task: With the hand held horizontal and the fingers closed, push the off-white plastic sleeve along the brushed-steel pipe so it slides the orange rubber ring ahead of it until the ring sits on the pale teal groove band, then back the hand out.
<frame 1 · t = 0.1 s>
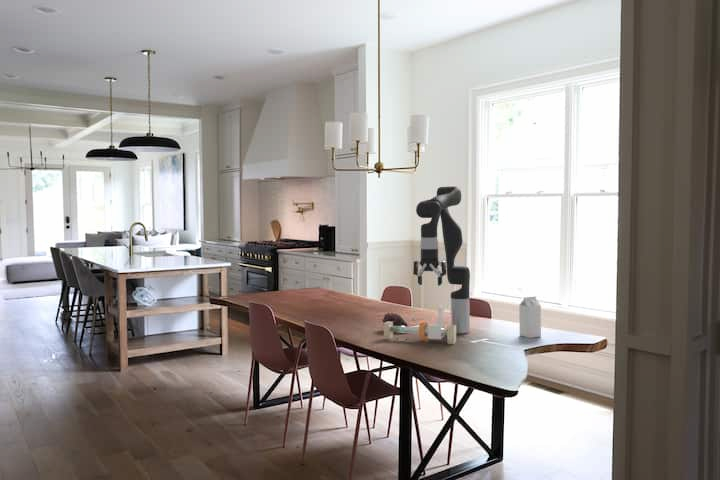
hand: (429, 285, 249), 29 cm above the table, fingers open, 8 cm apart
ring: (423, 330, 272), point 5 cm above the table, slide at 0.0 cm
pine cone: (394, 331, 296), on the table
pipe rail: (419, 340, 272), on the table
milk carton: (530, 336, 277), on the table
sleeve: (435, 321, 269), point 9 cm above the table, slide at 0.0 cm
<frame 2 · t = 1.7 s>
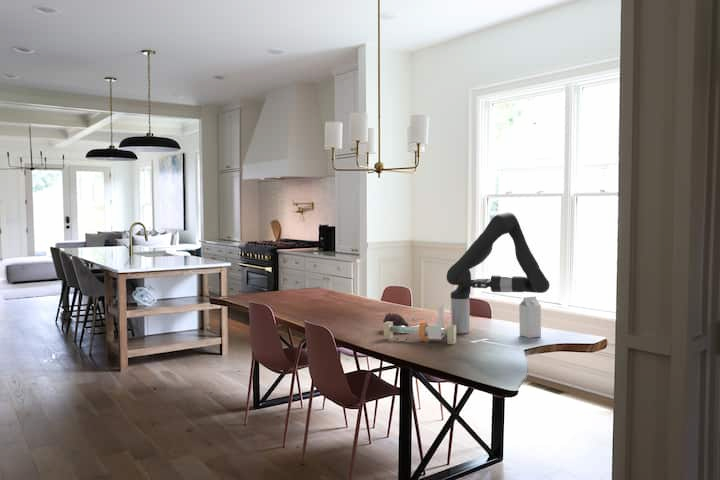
hand: (465, 283, 263), 28 cm above the table, fingers open, 6 cm apart
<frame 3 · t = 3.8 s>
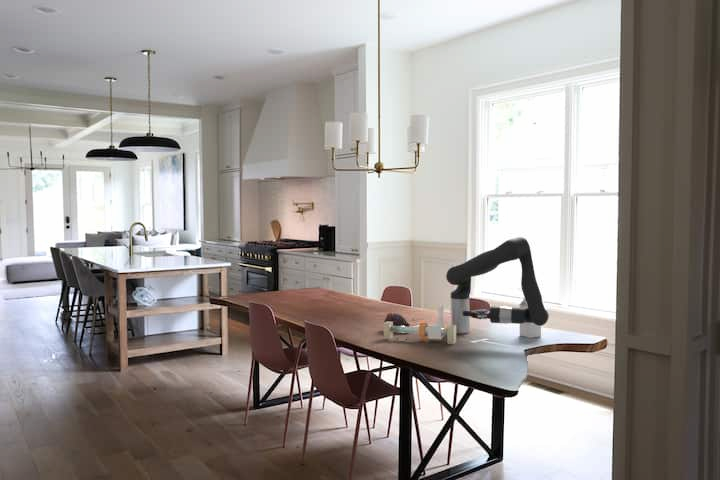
hand: (463, 313, 264), 14 cm above the table, fingers closed
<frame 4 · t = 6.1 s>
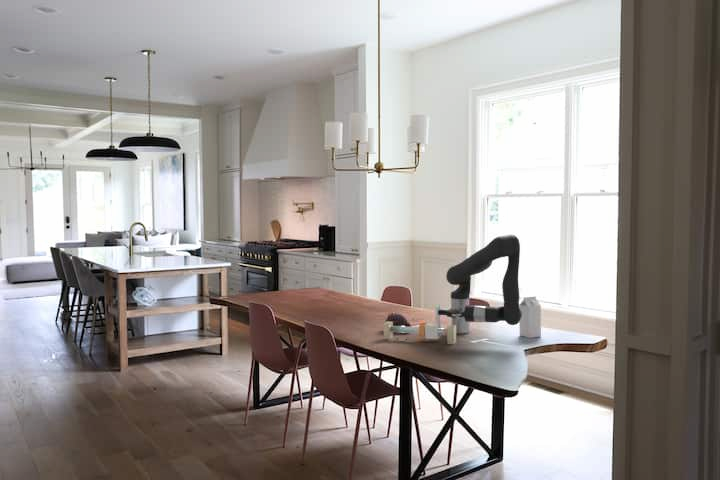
hand: (438, 312, 268), 14 cm above the table, fingers closed
sleeve: (432, 321, 270), point 10 cm above the table, slide at 1.6 cm, touching gripper
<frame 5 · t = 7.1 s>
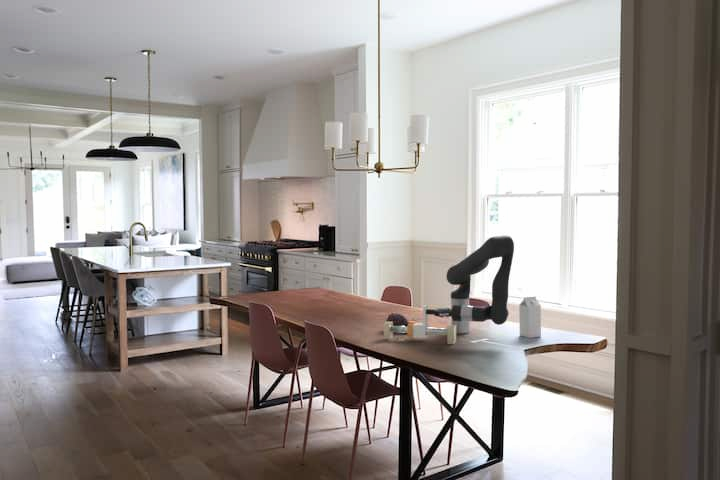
hand: (426, 311, 271), 14 cm above the table, fingers closed
ring: (412, 329, 274), point 5 cm above the table, slide at 5.6 cm, touching sleeve
sleeve: (420, 321, 272), point 10 cm above the table, slide at 7.4 cm, touching gripper, ring
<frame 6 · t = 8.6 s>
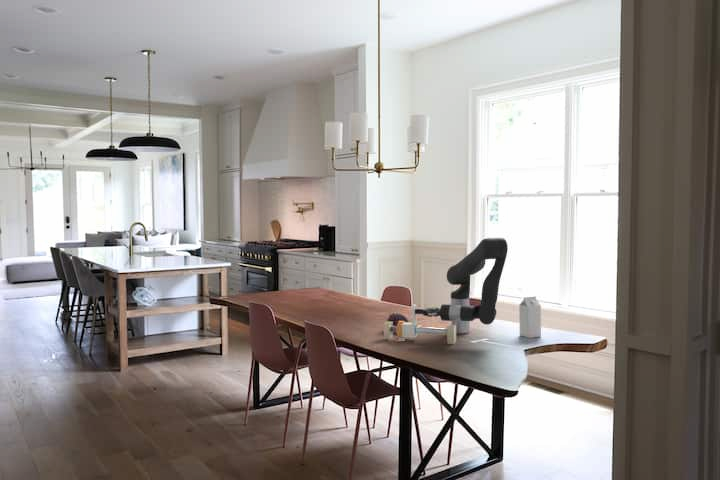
hand: (415, 311, 273), 14 cm above the table, fingers closed
ring: (401, 329, 276), point 5 cm above the table, slide at 11.0 cm, touching sleeve
sleeve: (409, 320, 274), point 9 cm above the table, slide at 12.8 cm, touching gripper, ring
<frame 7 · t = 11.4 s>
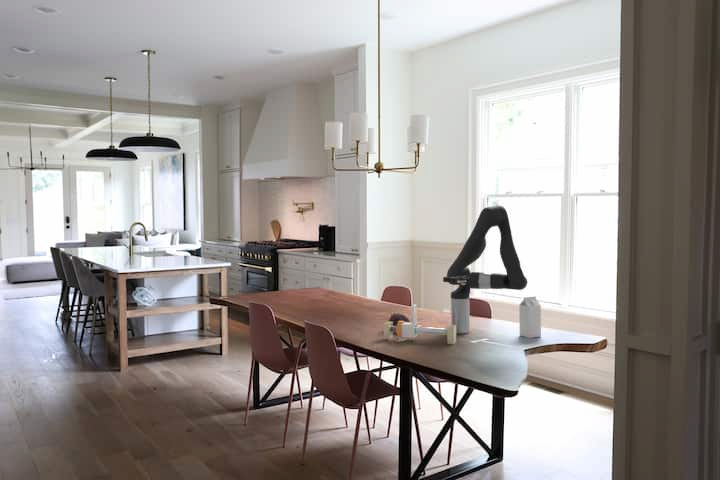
hand: (443, 279, 267), 30 cm above the table, fingers closed
sleeve: (409, 320, 274), point 10 cm above the table, slide at 12.8 cm, touching ring
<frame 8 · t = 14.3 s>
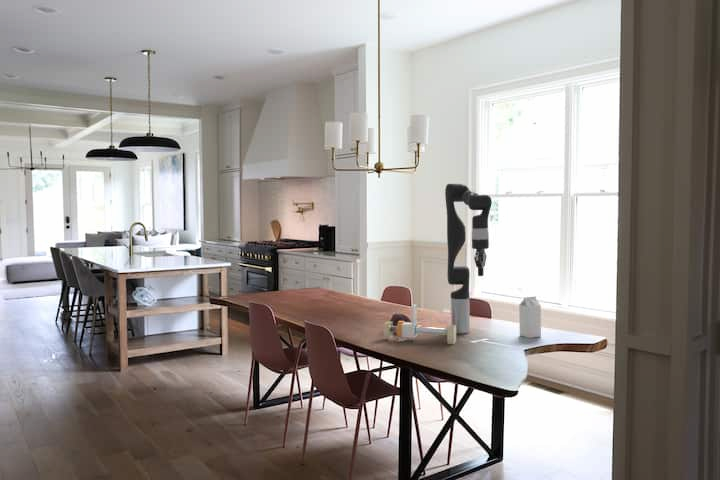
hand: (480, 275, 264), 31 cm above the table, fingers closed
at the end: ring slide at 11.0 cm; sleeve slide at 12.8 cm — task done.
